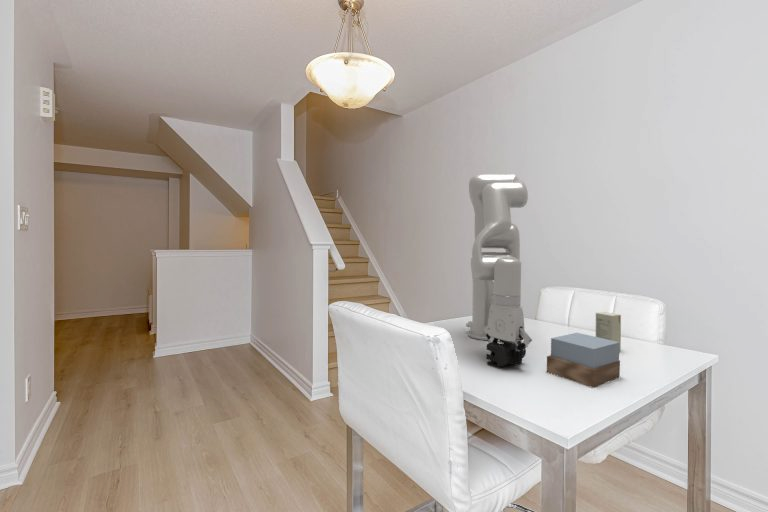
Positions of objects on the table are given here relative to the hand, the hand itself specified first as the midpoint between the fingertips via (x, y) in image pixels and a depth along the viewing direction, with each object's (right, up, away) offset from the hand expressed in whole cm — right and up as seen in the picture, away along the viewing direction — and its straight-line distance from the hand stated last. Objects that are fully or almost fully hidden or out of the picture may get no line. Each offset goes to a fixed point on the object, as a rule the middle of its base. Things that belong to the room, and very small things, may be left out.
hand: (505, 359), depth 113 cm
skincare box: (+38, -1, +15) cm, 41 cm away
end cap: (0, -1, 0) cm, 1 cm away
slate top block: (+19, +3, -8) cm, 21 cm away
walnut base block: (+18, -2, -8) cm, 20 cm away
